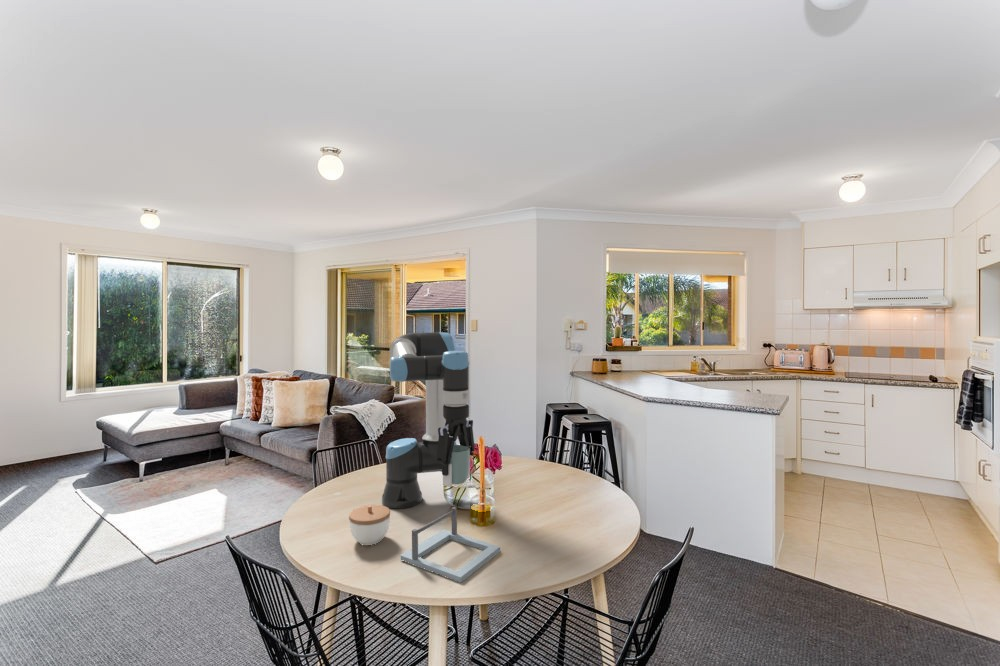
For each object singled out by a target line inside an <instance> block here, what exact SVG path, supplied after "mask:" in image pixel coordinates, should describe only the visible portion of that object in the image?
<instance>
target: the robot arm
mask: <svg viewBox="0 0 1000 666" xmlns="http://www.w3.org/2000/svg"><path fill="white" fill-rule="evenodd" d="M389 356H390V358H389V379H390V380H391V381H392V382H400V383H404V382H416V381H418V382H419V381H425V422H426V423H425V433H424V434H423V436H422V437H421V439H422V441H420V442H419V441H418V440H417V439H416V438H413V437H406V438H400V439H397V440H394V441H391V442H390V443H389V444H388V445H387V446H386V448H385V453H386V454H385V459H386V463H385V464H386V465H385V467H386V468H385V470H386V474H385V475H386V476H385V477H386V483H385V486H384V489H383V490H384V491H383V494H382V495H381V503H382V504H381V505H382V506H386V507H388V508H389V509H407V508H412V507H415V506H417V505H419V504H420V503H422V500H423V493H422V491H421V488H420V484H419V482H418V474H422V473H423V474H425V473H436V472H440V473H441V475H442V486H445V487H448V488H452V487H453V484H452V464H451V463H450V459H451V455H452V451H453V447H454V445H457V439H458V442H459V445H462V446H468V447H469V449H470V457H472V456H473V455H474V452H475V450H476V449H475V438H474V430H473V427H474V420H473V419H469V416H470V406H469V401H470V400H469V397H470V396H469V391H470V390H469V385H470V384H469V372H470V371H469V370H470V369H469V368H470V367H469V365H470V361H469V353H468V352H467V351H464V350H456V347H455V342H454V339H453V335H452V334H451V333H449V332H443V331H442V332H440V331H434V332H410V333H405V334H403V335H400V336H399V337H397V338H395V339H394V340H393V341H392V343H391V344H390V346H389ZM470 471H471V469H470V468H469V476H468V478H467V479H469V478H471V477H470V475H471V472H470Z"/></svg>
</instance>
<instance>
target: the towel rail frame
mask: <svg viewBox="0 0 1000 666" xmlns="http://www.w3.org/2000/svg"><path fill="white" fill-rule="evenodd" d="M457 509H458V508H457V507H455V506H453V507H451V510H449V512H447V513H445V514H443V515H442V516H439V517H438V518H435V519H434V520H432V521H430V522H428V523H427V524H426V525H424V526H422V527H420V528H418V529H417V528H413V529H412V530H411V548H410V549H409V550H407V551H405V552H403V553H402V554H400V557H399V558H400V561H401V560H404V561H406V562H409V563H411V564H414V565H416V566H415V567H417V566H419V567H418V568H420V567H422V568H425V569H427V570H426V571H428V570H430V571H433V572H435V573H434V574H436V573H438V574H440V575H439V576H441V575H443V576H442V577H444V576H446V577H448V578H447V579H449V578H451V579H450V580H452V579H454V580H453V581H455V580H456V581H455V582H457V581H458V582H457V583H460V582H461V583H463V581H465V580H466V579H467V578H469V577H470V576H471V575H473V574H474V573H475V572H476V571H477V570H479V569H480V568H482V567H483V566H484V565H485V564H487V563H488V562H489V561H490V560H491V559H492V558H494V557H496V555H498V554H499V553H500V552H501V546H499V545H496V544H494V543H493V544H492V543H490V542H486V541H483V540H481V539H480V540H479V539H476V538H473V537H470V536H468V535H463V534H461V533H458V514H457V513H458V510H457ZM448 517H451V530H447V529H445V528H443V529H442V530H440V531H438V532H437V533H435V534H433V535H432V536H430V537H429V538H426V540H424V541H422V542H420V543H419V534H420V533H421V532H424V531H426V530H427V529H429V528H430V527H432V526H434V525H435V524H438V523H439V522H440V521H443V520H444V519H446V518H448ZM449 540H452V541H453V542H457V543H460V544H464V545H467V546H468V547H473V548H476V549H480V550H482V551H481V552H479V553H478V554H477V555H475V556H474V557H472V558H471V559H470V560H469V561H467V562H466V563H465V564H463V565H462V566H461V567H460V568H458V569H457V570H455V569H452V568H450V567H446V566H444V565H442V564H438V563H436V562H432V561H430V560H427V559H424V558H422V556H423V557H424V556H426V555H428V554H429V553H430V551H431V550H432V551H434V550H435V549H437V548H438V547H439V545H440V546H441V545H443V544H445V543H446V542H448V541H449ZM444 542H445V543H444ZM436 547H437V548H436ZM433 549H434V550H433ZM432 551H431V552H432ZM428 552H429V553H428ZM425 554H426V555H425ZM420 557H421V558H420ZM406 562H405V563H406ZM409 563H408V564H409ZM411 564H410V565H411ZM414 565H413V566H414ZM422 568H421V569H422ZM425 569H424V570H425ZM430 571H429V572H430ZM433 572H432V573H433ZM438 574H437V575H438ZM446 577H445V578H446Z"/></svg>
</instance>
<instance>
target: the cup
mask: <svg viewBox="0 0 1000 666" xmlns="http://www.w3.org/2000/svg"><path fill="white" fill-rule="evenodd" d="M450 463H451V464H452V485H462V484H464V483H465V482H466V481H467V480H468V479H469V478H468V476H469V468H470V467H471V466H470V465H471V455H470V449H469V447H468V446H462V445H460V444H456V445H454V447H453V451H452V455H451V459H450Z"/></svg>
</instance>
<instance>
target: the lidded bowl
mask: <svg viewBox="0 0 1000 666" xmlns="http://www.w3.org/2000/svg"><path fill="white" fill-rule="evenodd" d="M390 509H391V508H389V507H386V506H384V505H383V504H368V505H362V506H360V507H357V508H355V509H353V510H351V512H349V515H348V519H349V528H350V533H351V536H352V537H353V539H355V541H356V542H358V544H359V543H360V544H363V545H371V546H373V545H372V544H375V545H377V544H376V543H378V542H380V541H381V542H382V540H383V539H384V538H385V536H386V535H387V533H388V531H389V529H390V522H391V521H390V520H391V510H390ZM381 542H380V543H381ZM360 544H359V545H360ZM378 544H379V543H378ZM363 545H362V546H363Z"/></svg>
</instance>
